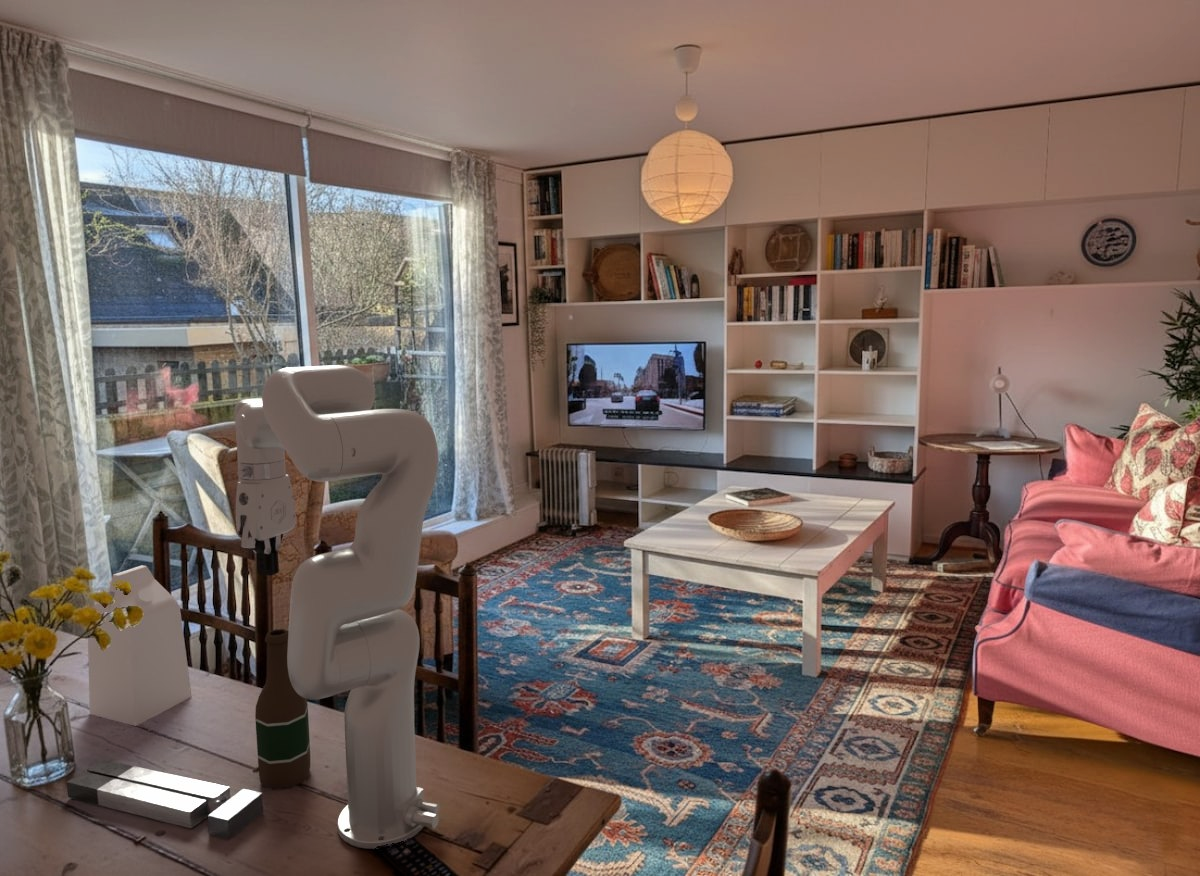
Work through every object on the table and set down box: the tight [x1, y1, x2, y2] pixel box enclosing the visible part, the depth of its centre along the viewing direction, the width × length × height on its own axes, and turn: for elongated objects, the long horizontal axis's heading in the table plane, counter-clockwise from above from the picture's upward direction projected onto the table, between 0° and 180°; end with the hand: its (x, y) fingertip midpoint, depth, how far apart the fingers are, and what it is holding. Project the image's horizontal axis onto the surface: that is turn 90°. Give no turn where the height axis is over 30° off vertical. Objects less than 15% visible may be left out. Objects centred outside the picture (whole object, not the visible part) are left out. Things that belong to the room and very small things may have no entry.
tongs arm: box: [86, 759, 231, 815], centre depth 123 cm, size 26×5×2 cm, turn 73°
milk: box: [87, 564, 193, 727], centre depth 150 cm, size 12×12×26 cm
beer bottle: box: [254, 628, 311, 791], centre depth 127 cm, size 8×8×24 cm
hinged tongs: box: [66, 771, 264, 841], centre depth 121 cm, size 30×7×3 cm, turn 72°
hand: (268, 573), depth 143 cm, fingers closed
